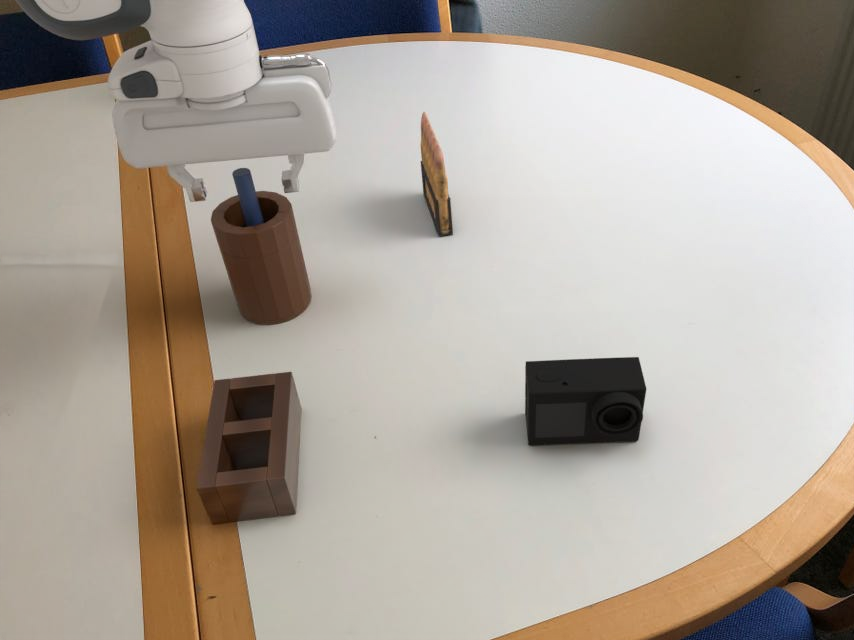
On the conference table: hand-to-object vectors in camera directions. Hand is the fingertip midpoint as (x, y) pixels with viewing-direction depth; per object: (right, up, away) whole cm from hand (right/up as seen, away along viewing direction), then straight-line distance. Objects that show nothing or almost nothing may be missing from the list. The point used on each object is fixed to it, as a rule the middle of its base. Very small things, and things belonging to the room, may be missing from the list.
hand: (245, 194), depth 81 cm
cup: (+1, -10, +10) cm, 14 cm away
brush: (+1, -10, +9) cm, 14 cm away
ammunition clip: (+18, +2, +22) cm, 29 cm away
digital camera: (+33, -24, -6) cm, 42 cm away
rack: (+4, -26, -8) cm, 28 cm away
